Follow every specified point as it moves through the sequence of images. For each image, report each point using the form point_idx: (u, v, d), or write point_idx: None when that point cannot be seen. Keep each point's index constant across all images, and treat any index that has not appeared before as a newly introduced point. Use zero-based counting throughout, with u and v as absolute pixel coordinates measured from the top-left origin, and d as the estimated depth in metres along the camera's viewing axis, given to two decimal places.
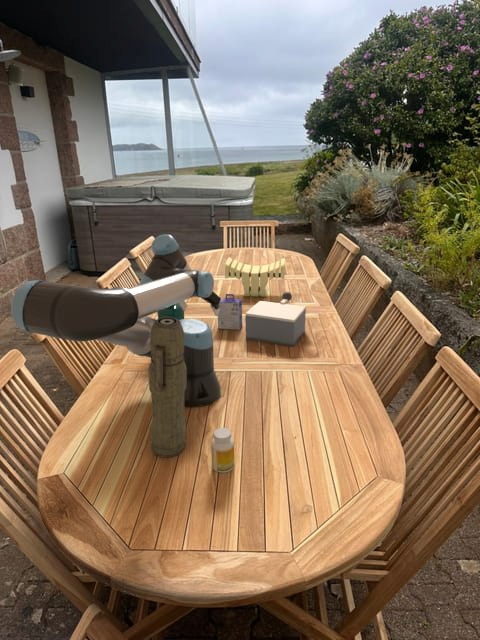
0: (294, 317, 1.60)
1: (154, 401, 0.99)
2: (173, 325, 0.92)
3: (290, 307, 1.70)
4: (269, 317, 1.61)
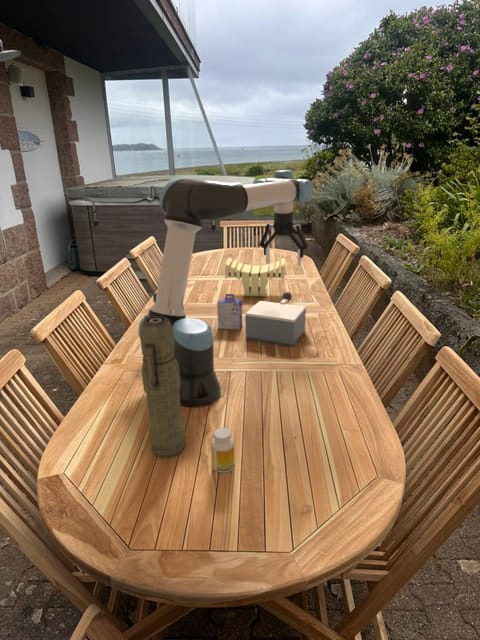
0: (294, 317, 1.60)
1: (149, 401, 0.99)
2: (161, 323, 0.93)
3: (290, 307, 1.70)
4: (269, 317, 1.61)
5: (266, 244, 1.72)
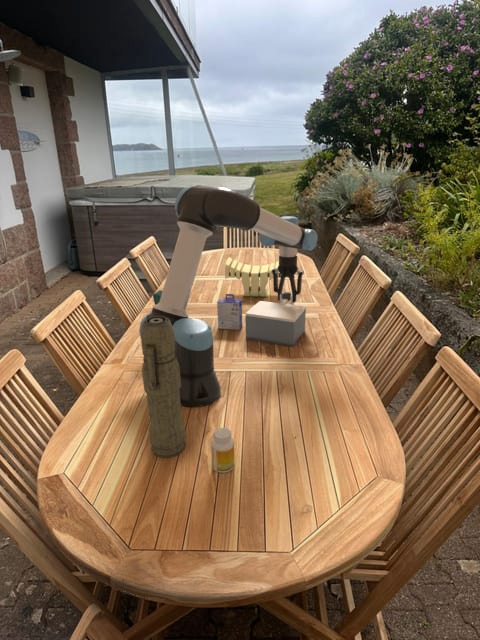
0: (294, 317, 1.60)
1: (150, 401, 0.99)
2: (162, 323, 0.93)
3: (290, 307, 1.70)
4: (269, 317, 1.61)
5: (279, 289, 1.79)
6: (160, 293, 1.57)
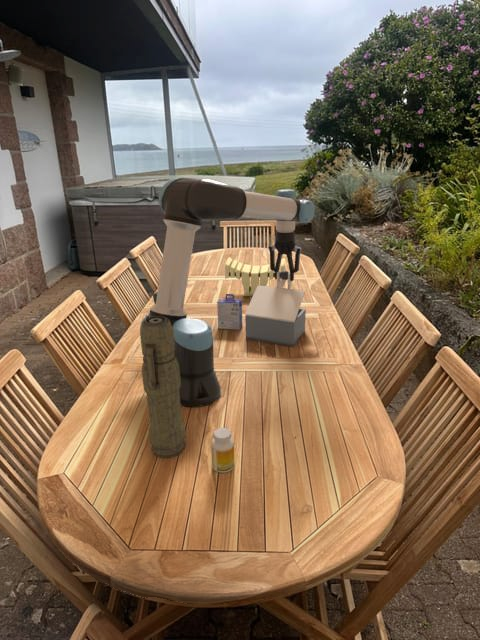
0: (293, 315, 1.59)
1: (149, 401, 0.99)
2: (161, 323, 0.93)
3: (289, 295, 1.66)
4: (269, 317, 1.61)
5: (276, 267, 1.71)
6: None
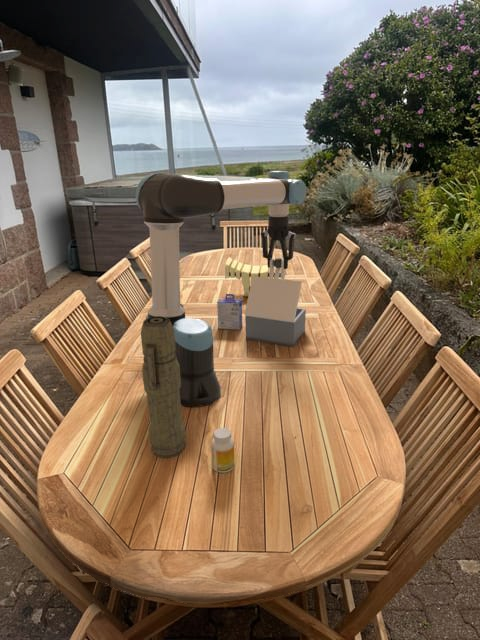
0: (293, 315, 1.58)
1: (150, 401, 0.99)
2: (162, 323, 0.93)
3: (285, 288, 1.61)
4: (268, 318, 1.61)
5: (269, 255, 1.61)
6: None
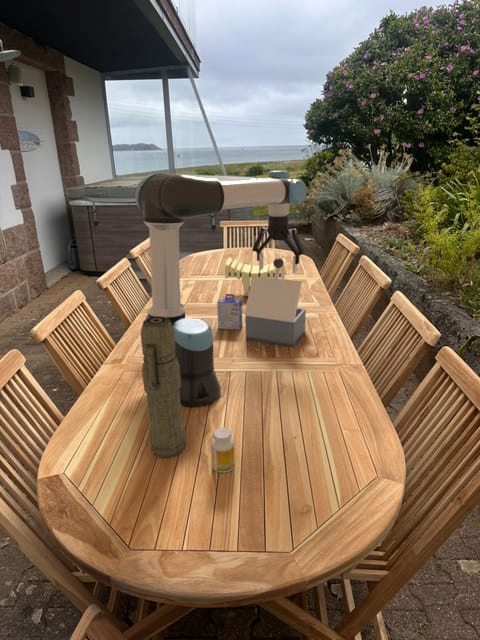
0: (293, 315, 1.58)
1: (150, 401, 0.99)
2: (162, 323, 0.93)
3: (285, 288, 1.61)
4: (268, 318, 1.61)
5: (260, 249, 1.62)
6: None
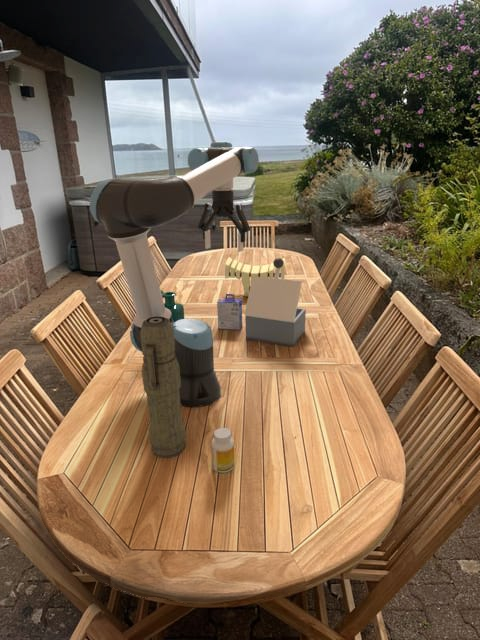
0: (293, 315, 1.58)
1: (149, 401, 0.99)
2: (161, 323, 0.93)
3: (285, 288, 1.61)
4: (268, 318, 1.61)
5: (205, 226, 1.54)
6: None
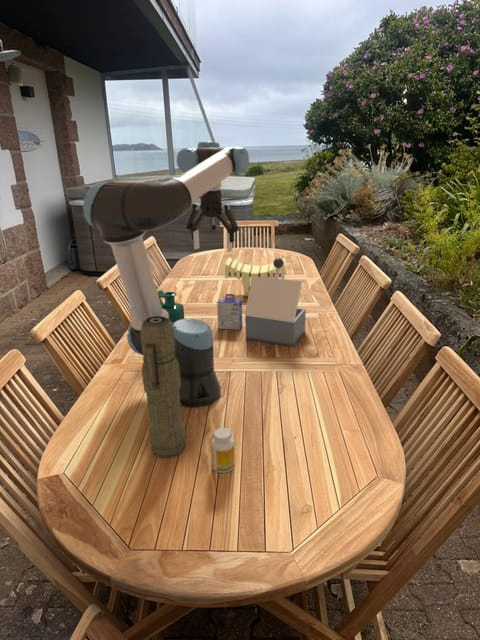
0: (293, 315, 1.58)
1: (149, 401, 0.99)
2: (161, 323, 0.93)
3: (285, 288, 1.61)
4: (268, 318, 1.61)
5: (193, 227, 1.53)
6: (160, 293, 1.57)
